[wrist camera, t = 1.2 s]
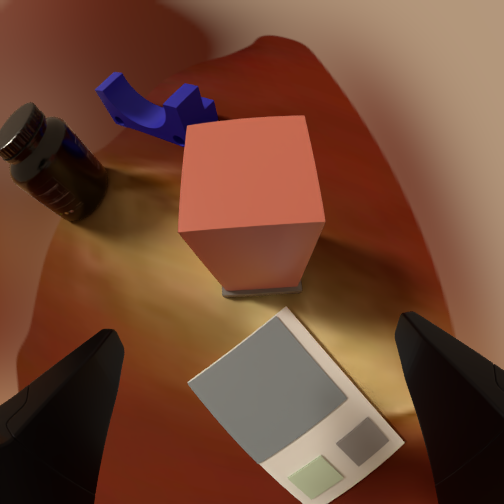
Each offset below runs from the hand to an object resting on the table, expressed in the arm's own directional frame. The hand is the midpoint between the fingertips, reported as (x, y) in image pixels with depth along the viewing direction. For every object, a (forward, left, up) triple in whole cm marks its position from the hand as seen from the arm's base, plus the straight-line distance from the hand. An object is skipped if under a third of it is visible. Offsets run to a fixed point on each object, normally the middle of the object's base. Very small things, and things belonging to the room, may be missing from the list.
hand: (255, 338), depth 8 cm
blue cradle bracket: (+24, -5, -13) cm, 28 cm away
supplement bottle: (+22, +6, -12) cm, 26 cm away
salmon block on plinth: (+5, -4, -12) cm, 14 cm away
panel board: (-7, +2, -12) cm, 14 cm away
